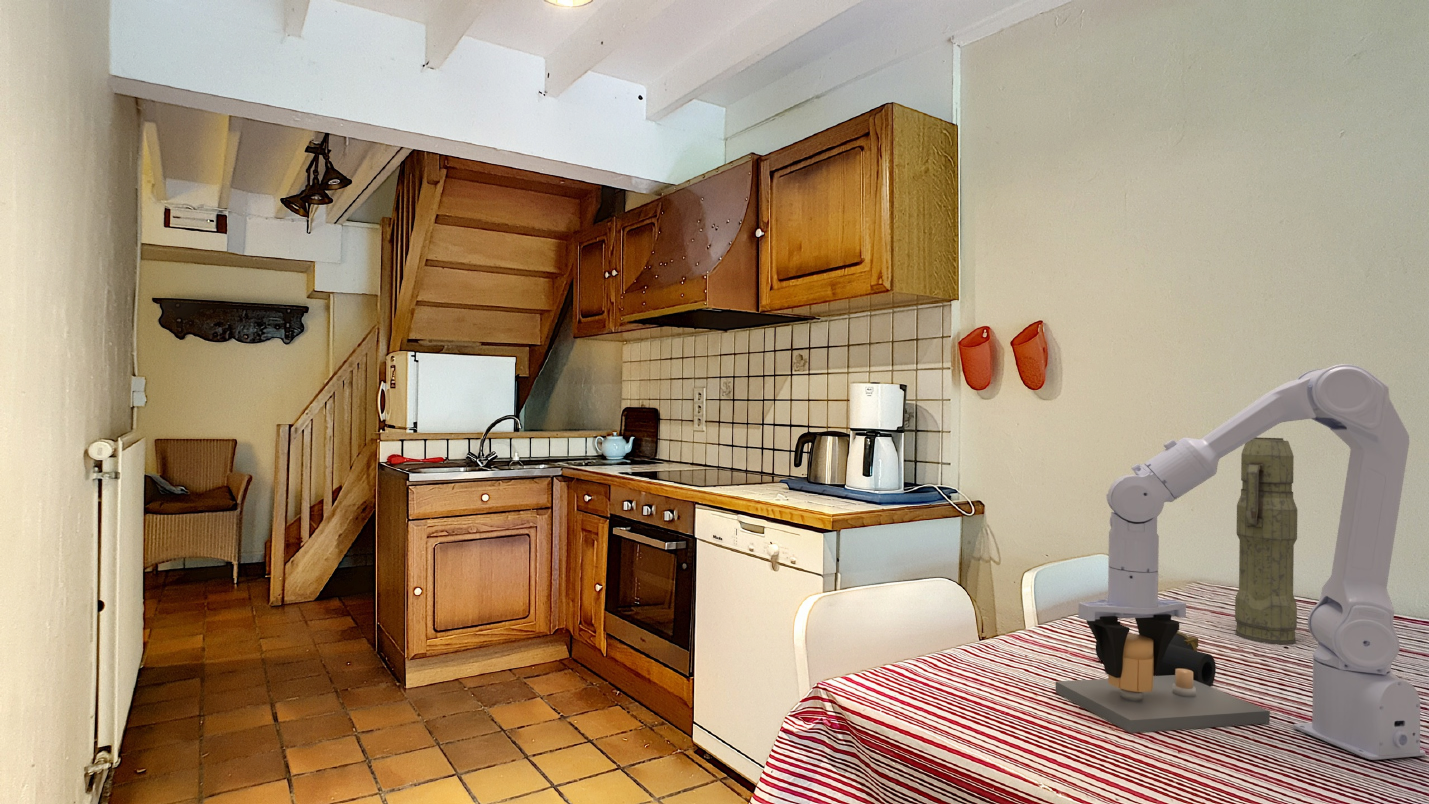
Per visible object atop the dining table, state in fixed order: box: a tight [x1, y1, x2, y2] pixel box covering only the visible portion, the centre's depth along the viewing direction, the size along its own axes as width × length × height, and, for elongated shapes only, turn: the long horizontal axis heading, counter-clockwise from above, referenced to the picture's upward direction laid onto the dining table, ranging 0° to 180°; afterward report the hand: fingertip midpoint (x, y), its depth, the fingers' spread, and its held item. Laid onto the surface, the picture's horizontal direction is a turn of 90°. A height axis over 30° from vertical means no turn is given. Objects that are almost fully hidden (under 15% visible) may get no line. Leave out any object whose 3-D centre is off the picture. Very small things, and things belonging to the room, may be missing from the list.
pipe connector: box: [1095, 631, 1217, 687], centre depth 120 cm, size 12×5×15 cm
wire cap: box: [1107, 632, 1154, 692], centre depth 103 cm, size 5×5×6 cm
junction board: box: [1055, 668, 1271, 734], centre depth 103 cm, size 14×20×4 cm
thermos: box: [1234, 436, 1298, 646], centre depth 140 cm, size 9×12×35 cm
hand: (1131, 674), depth 103 cm, fingers closed on wire cap, 5 cm apart
